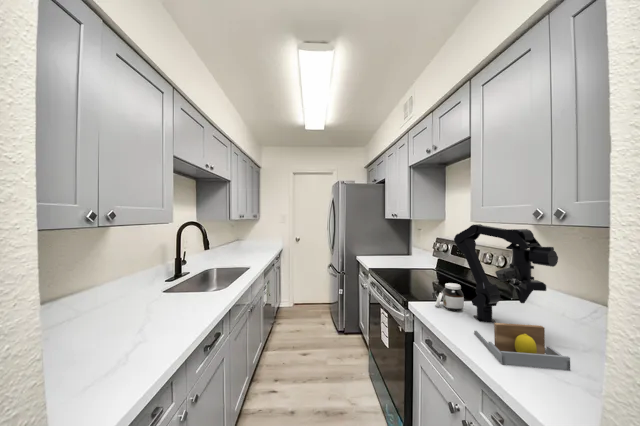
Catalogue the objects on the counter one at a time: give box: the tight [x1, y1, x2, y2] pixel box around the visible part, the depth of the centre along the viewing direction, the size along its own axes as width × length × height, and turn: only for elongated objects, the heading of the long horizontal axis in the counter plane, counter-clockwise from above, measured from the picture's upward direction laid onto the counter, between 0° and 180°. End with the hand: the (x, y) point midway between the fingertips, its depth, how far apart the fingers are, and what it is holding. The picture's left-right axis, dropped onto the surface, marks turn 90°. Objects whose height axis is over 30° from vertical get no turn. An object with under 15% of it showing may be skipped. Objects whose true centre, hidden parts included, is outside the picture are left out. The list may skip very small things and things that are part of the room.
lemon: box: [515, 334, 537, 354], centre depth 83 cm, size 6×6×8 cm
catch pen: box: [473, 330, 571, 371], centre depth 89 cm, size 21×18×4 cm
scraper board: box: [493, 322, 546, 354], centre depth 87 cm, size 2×14×9 cm, turn 80°
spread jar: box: [435, 282, 465, 312], centre depth 129 cm, size 12×11×12 cm
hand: (522, 303), depth 100 cm, fingers closed
